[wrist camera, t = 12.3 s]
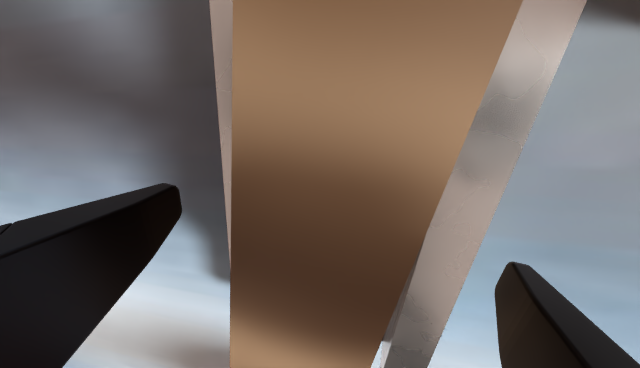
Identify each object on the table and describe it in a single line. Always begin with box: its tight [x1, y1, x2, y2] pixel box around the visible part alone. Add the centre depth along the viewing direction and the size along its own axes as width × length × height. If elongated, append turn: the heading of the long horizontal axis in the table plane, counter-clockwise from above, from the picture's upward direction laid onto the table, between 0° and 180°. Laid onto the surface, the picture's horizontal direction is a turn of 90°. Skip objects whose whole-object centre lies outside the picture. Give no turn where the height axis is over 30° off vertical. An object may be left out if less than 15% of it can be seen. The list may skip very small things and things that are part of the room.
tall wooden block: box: [230, 0, 523, 368], centre depth 10 cm, size 14×4×7 cm, turn 171°
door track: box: [209, 0, 587, 368], centre depth 13 cm, size 22×10×4 cm, turn 175°
